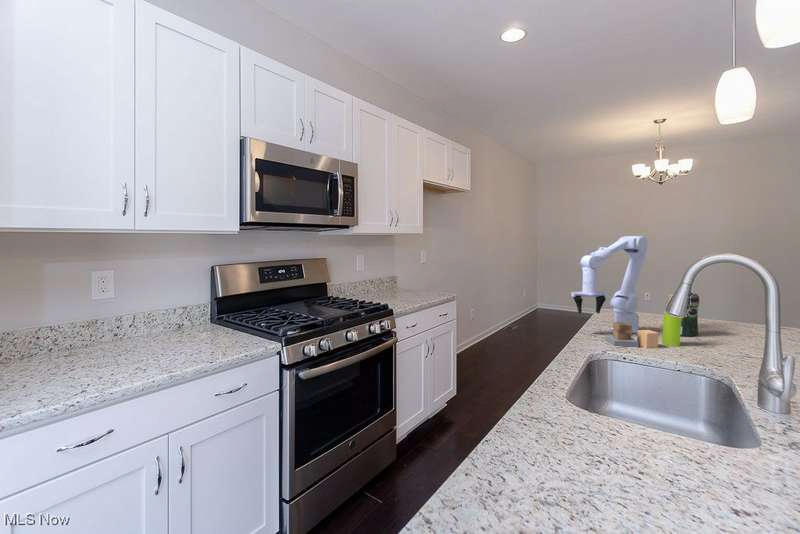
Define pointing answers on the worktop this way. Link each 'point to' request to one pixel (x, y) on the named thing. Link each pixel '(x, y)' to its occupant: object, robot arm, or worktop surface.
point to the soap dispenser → (671, 330)
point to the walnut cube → (622, 331)
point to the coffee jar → (691, 318)
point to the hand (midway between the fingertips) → (588, 312)
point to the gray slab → (621, 342)
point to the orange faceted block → (648, 338)
